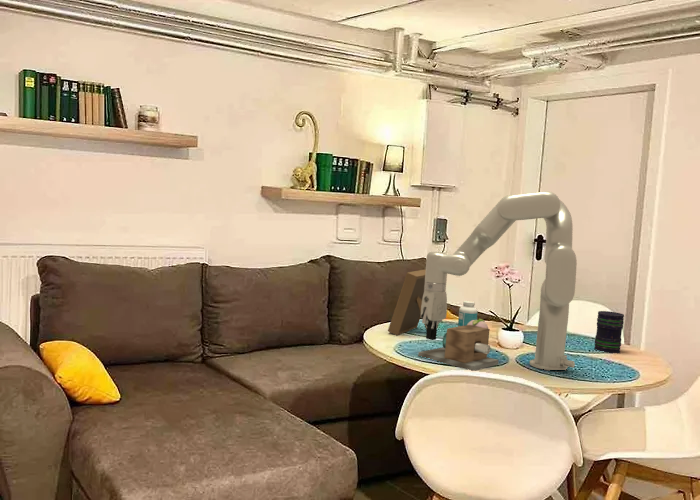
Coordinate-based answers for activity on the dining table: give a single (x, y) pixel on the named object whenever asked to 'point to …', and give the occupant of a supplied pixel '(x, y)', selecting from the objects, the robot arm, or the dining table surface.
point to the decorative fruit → (478, 323)
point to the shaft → (478, 346)
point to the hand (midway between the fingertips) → (430, 339)
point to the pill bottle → (467, 313)
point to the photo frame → (409, 304)
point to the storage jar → (609, 331)
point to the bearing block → (463, 348)
